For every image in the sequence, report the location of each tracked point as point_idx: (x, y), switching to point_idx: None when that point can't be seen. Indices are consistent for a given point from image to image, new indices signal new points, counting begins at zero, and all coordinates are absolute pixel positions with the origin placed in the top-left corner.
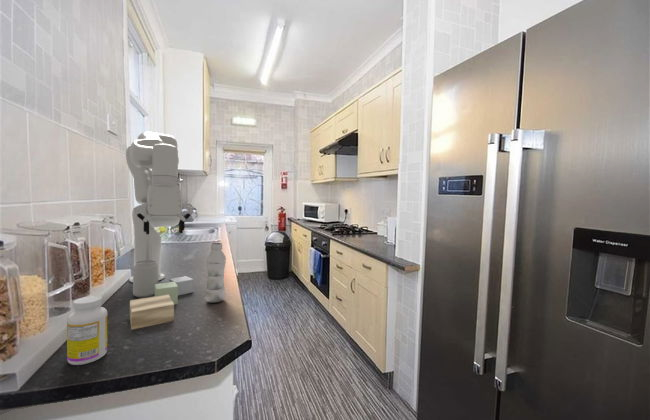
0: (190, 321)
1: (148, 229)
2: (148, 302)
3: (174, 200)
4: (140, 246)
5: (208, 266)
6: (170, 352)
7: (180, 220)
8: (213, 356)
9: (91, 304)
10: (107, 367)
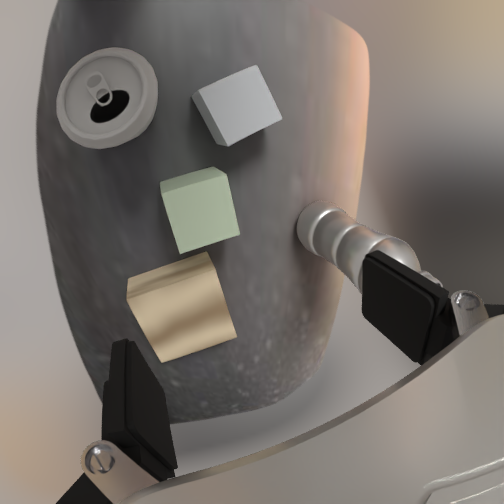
0: (257, 320)
1: (165, 422)
2: (177, 320)
3: None
4: None
5: (354, 284)
6: (234, 394)
7: (433, 351)
8: (279, 398)
9: None
10: (173, 411)
